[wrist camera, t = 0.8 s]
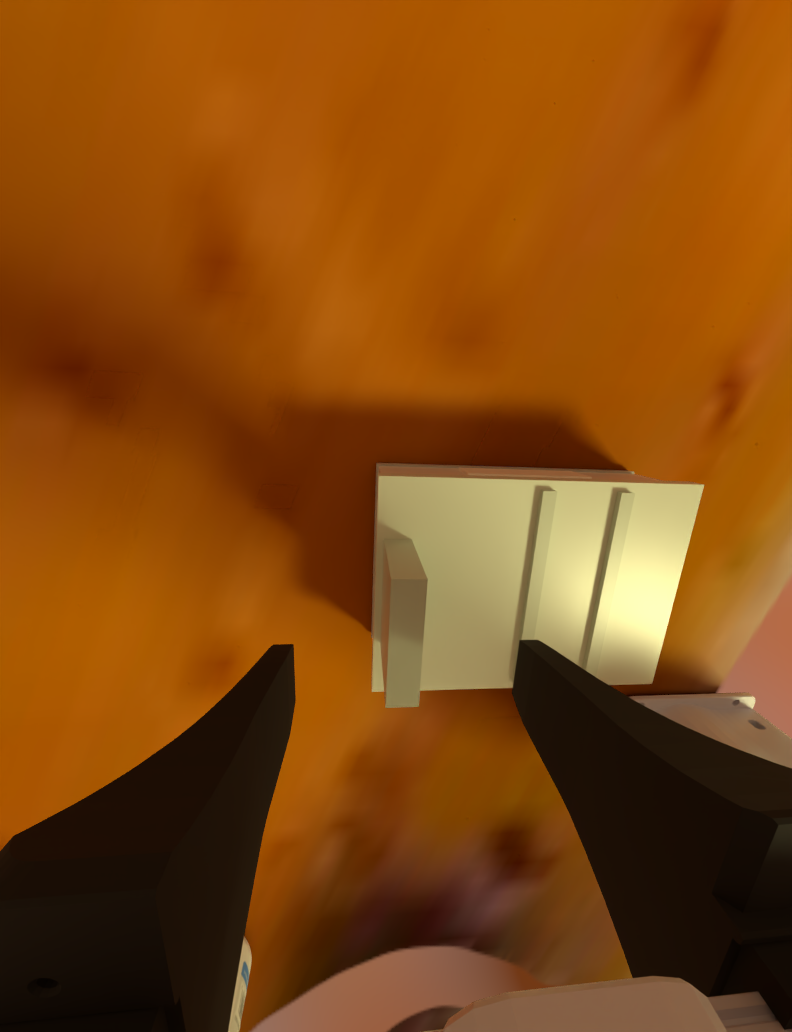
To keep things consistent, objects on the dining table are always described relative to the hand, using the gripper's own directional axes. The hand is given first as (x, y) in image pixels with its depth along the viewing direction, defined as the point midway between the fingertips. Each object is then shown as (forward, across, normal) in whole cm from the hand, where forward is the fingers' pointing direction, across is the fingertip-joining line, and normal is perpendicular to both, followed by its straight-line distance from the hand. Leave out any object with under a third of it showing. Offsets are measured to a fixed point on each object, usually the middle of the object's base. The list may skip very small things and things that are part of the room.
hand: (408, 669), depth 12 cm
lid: (+6, -6, 0) cm, 9 cm away
